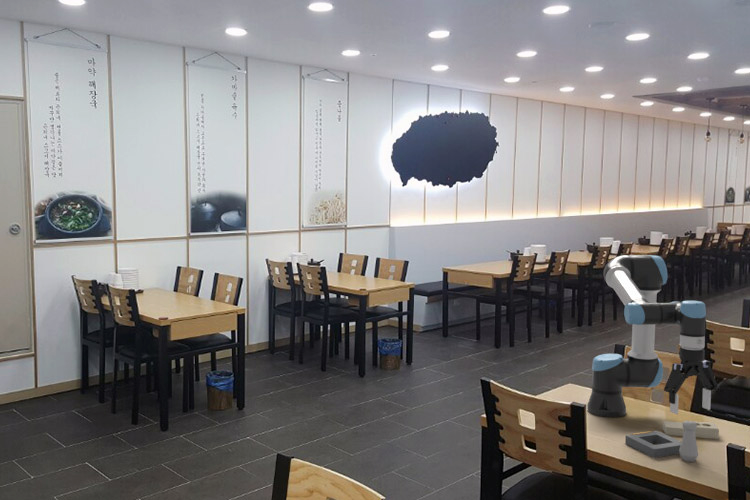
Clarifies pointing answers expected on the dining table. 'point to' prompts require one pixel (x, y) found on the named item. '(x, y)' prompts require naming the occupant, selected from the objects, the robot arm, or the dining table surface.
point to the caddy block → (646, 438)
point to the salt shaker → (689, 442)
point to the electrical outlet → (702, 430)
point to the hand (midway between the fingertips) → (690, 410)
